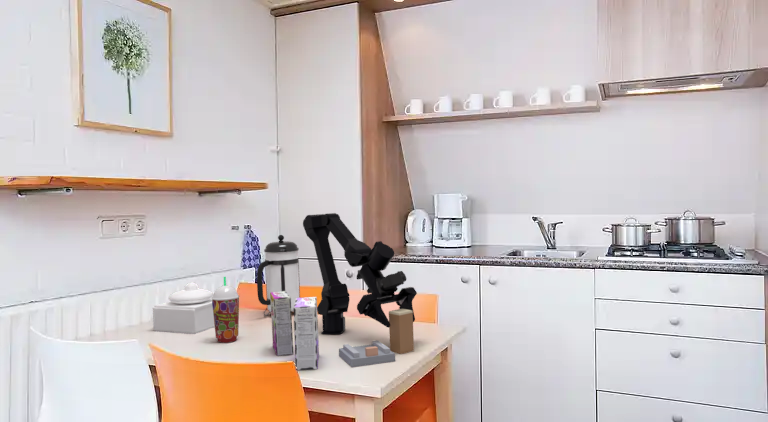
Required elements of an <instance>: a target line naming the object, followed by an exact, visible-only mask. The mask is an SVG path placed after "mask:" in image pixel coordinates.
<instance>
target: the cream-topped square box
mask: <svg viewBox="0 0 768 422" xmlns="http://www.w3.org/2000/svg"><path fill="white" fill-rule="evenodd" d="M413 312H414V310H413V311H412V310H407V309H399V308H398V309H393V310H389V311H388V320H389V323H390V327H389V329H388V331H389V332H388V333H389V348H390V351H392V352H393V353H395V354H398V355H402V354H406V353H410V352H414V351H415V349H414V348H415V345H414V343H415V342H414V322H413Z"/></svg>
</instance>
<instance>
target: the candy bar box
mask: <svg viewBox="0 0 768 422" xmlns="http://www.w3.org/2000/svg"><path fill="white" fill-rule="evenodd" d="M270 301H271V312H270V315H271V316H270V318H271V334H272V335H271V337H272V347H273V350H274V352H275V354H276V357H283V356H292V355H294V341H293V339H294V337H293V336H294V335H293V321H292V319H293V318H292V312H291V297H290V296H289V295H288V293H287V292H286V291H281V292H280V291H279V292H271V293H270Z"/></svg>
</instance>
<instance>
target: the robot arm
mask: <svg viewBox="0 0 768 422" xmlns="http://www.w3.org/2000/svg"><path fill="white" fill-rule="evenodd" d="M302 221H303V222H302V227H303V228H304V231H305V234H306V236H307V237H308V238H309V240H311V241H312V243H313V246H314V250H315V253H316V259H317V262H318V267H319V271H320V274H321V279H322V283H323V287H322V289H321V293H320V295H321V300H320V302H319V303H318V304H317V315H321V320H322V331H321V333H320V334H321V335H341V334H342V333H344V332H345V331H346V317H345V316H344V313H347V312H349V311H348V310H349V305H350V296H351V295H350V293H349V291H348V286H347V284H346V283H342V282H341V281H340V279H339V275H338V272H337V268H336V264H335V260H334V257H333V252H332V248H331V245H330V241H329V236H330V233H331V235H332V236H333V237H334V238H335V240H336V241H337V242H338V243H339V244H340V246H341V247H342V249H343V250H344V251H343V252H344V254H343V255H344V258H345V260H346V262H347V263H348V265H349V266H350V267H352V268H356V267H360V269H359V270H357V274H356V280H363V281H364V283H365V285H366V286H367V289H366V292H367V294H363V295H362V297H360V298H361V299H360V300H359V301H358V303H357V305H356V310H357V312H358V314H359V315H364V316H365V317H369V318H371V319H373V321H374V320H375V321H377V322H378V323H380V324H381V325H383V326H385V327H386V328H389V327H390V323H389V318H388V316H386V314H385V312H384V310H383V308H382V305H386V304H390V303H396V305H397V306H398V309H407V310H412V311H413V323H414V322H415V321H416V316H415V313H414V312H415V311H414V309H413V300H414V299H415V297H416V295H418V293H417V291H416V288H414V287H413V286H410V287H409V286H408V287H403V288H401V289H400V290H399V292H398V293H397V294H395V292H397V291H398V287H399V286H401V285H404V284H405V282H406V281H407V276H406V274H405V273H404V272H403V270H400V271H399V270H398V271H397V272H395V273H391V274H388V275H386V276H385V275H384V274H383V272H382V271H385V270H386V269H387V267H388V266H389V265H390V262H391V261H392V260H393V258H394V256H395V251H394V249H393V248H392V247H391V246H389V245H388V244H385V243H383V242H382V241H381V240H380V241H375V242H374V245H373V247H370V246H369V245H368V244H366V242H364V241H361V240H359V239H358V238H356V237H355V235H354V234H353V233H352V232H351V230H350V229H349V227H348V226H346V224H345V223H344V222H343V221H342V219H341V217H340V215H339V214H338V213H336V212H333V213H332V212H331V213H322V214H321V213H320V214H317V213H316V214H307V215H306V216H305V218H304V219H303V220H302Z"/></svg>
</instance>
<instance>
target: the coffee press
mask: <svg viewBox="0 0 768 422" xmlns="http://www.w3.org/2000/svg"><path fill="white" fill-rule="evenodd" d="M277 239H278V241H272V242H270V243H268V244H267V245H266V246H265V248H264V249H263V250H264V251H263V252H264V254H265V255H264V257H265V259H264V261H262V262H261V263H260V264H259V265H258V267H257V270H256V289H257V290H256V291H257V299H258V301H259V303H260V304H261V305H264V306H267V307H266V309H265V310H264V311H263V315H264V316H268V315H269V314H271V301H270V293H271V292H279V291H280V292H281V291H286V292H287V293H288V295H289V296H290V297H291V313H292V312H293V313H294V305H295V301H296V298H300V296H301V289H300V288H301V287H300V272H299V270H300V262H299V260H300V259H299V258H300V257H299V255H298V253H299V247H298V245H297V244H296V243H295V242H294V241H290V240H289V241H285V240H284V239H285V236H284V235H282V234H279V235H278V236H277ZM264 269H265V283H266V285H265V291H266V295H265V296H266V299H265V298H264V288H263V287H264V286H263V273H264ZM267 310H268V311H269V312H268V313H267V314H265V313H266V311H267Z"/></svg>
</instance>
